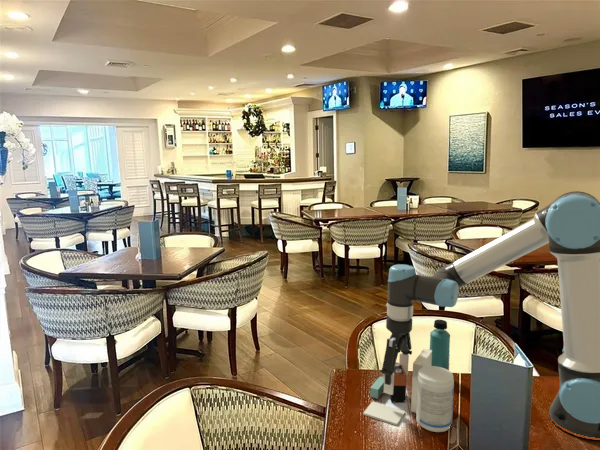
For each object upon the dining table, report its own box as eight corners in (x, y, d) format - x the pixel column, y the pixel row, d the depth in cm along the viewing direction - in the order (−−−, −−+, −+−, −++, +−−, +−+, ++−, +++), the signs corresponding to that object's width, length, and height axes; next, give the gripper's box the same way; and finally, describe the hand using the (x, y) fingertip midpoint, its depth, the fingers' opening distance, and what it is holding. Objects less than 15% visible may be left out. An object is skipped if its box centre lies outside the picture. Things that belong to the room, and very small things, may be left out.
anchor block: (386, 387, 142) (387, 378, 142) (377, 398, 135) (378, 389, 135) (379, 385, 143) (379, 376, 143) (370, 396, 137) (370, 387, 136)
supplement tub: (459, 430, 120) (462, 379, 118) (427, 436, 118) (430, 384, 115) (438, 410, 129) (441, 363, 127) (409, 415, 127) (411, 367, 124)
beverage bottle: (451, 383, 144) (454, 324, 141) (430, 383, 145) (433, 324, 141) (445, 373, 151) (448, 317, 148) (425, 373, 151) (428, 317, 148)
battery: (401, 391, 140) (402, 361, 138) (405, 403, 133) (407, 372, 132) (387, 391, 140) (388, 361, 138) (391, 403, 133) (392, 371, 132)
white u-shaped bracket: (429, 396, 137) (432, 350, 134) (419, 413, 127) (421, 365, 125) (421, 393, 138) (423, 348, 136) (410, 411, 129) (413, 363, 126)
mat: (405, 413, 128) (405, 411, 128) (397, 425, 122) (397, 423, 122) (372, 403, 133) (372, 401, 133) (363, 414, 127) (363, 412, 127)
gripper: (400, 302, 145) (397, 363, 148) (371, 328, 124) (368, 398, 127) (423, 306, 141) (420, 369, 145) (397, 334, 120) (394, 406, 124)
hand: (396, 383), depth 136 cm, fingers open, 13 cm apart
